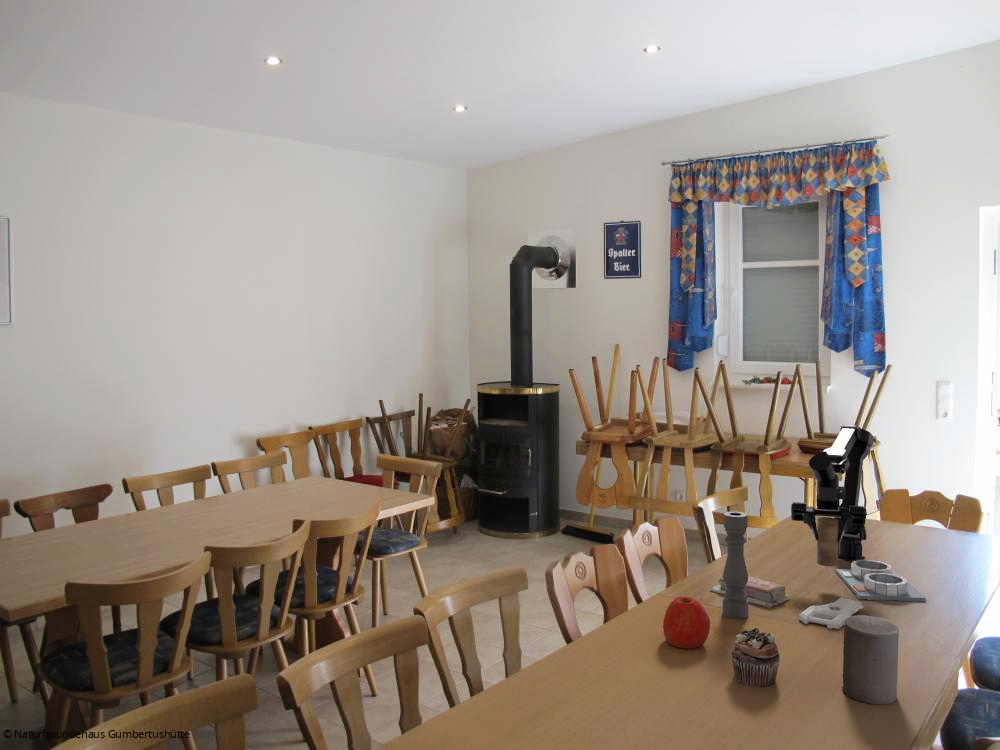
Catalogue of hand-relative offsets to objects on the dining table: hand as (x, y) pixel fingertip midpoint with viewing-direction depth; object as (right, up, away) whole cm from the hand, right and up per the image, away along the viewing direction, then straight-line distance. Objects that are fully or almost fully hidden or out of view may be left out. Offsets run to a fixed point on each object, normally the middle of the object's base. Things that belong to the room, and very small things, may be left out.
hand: (827, 540), depth 215 cm
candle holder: (-29, -15, -16) cm, 37 cm away
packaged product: (-22, -14, -2) cm, 26 cm away
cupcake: (-36, -17, -52) cm, 66 cm away
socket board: (+15, -13, +3) cm, 20 cm away
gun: (-7, -15, -19) cm, 25 cm away
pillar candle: (-16, -17, -59) cm, 64 cm away
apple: (-46, -16, -33) cm, 59 cm away
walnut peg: (+1, -6, +2) cm, 7 cm away
